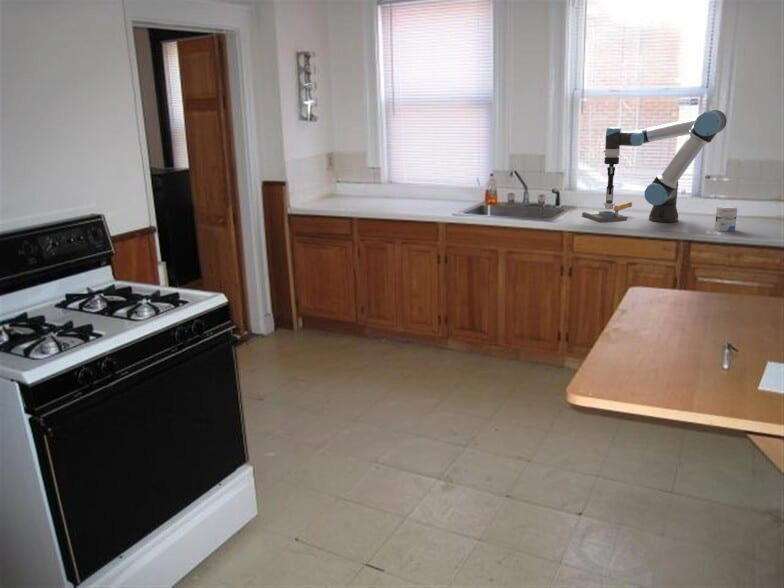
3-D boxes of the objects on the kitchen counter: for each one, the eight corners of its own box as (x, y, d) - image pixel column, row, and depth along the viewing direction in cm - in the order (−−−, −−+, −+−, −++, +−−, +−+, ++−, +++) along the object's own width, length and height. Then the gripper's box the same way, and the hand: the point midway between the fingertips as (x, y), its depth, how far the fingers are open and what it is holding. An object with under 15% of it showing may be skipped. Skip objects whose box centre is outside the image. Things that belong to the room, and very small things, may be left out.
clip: (617, 211, 387) (618, 206, 386) (613, 210, 389) (613, 205, 388) (632, 206, 399) (632, 202, 398) (627, 206, 401) (628, 201, 400)
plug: (616, 208, 389) (618, 187, 386) (606, 209, 388) (608, 187, 385) (610, 207, 395) (612, 185, 392) (601, 207, 394) (602, 186, 390)
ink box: (730, 229, 362) (733, 206, 359) (735, 231, 358) (738, 207, 354) (713, 229, 362) (716, 206, 359) (718, 231, 357) (721, 208, 354)
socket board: (626, 220, 390) (627, 211, 388) (600, 222, 386) (600, 212, 385) (607, 214, 408) (607, 205, 407) (582, 215, 405) (582, 207, 403)
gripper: (604, 155, 392) (602, 197, 399) (604, 158, 377) (602, 201, 384) (618, 155, 390) (616, 197, 397) (619, 158, 375) (616, 202, 382)
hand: (609, 199), depth 390 cm, fingers closed on plug, 3 cm apart
